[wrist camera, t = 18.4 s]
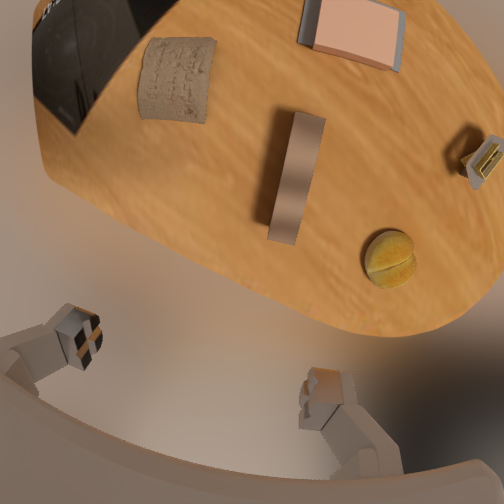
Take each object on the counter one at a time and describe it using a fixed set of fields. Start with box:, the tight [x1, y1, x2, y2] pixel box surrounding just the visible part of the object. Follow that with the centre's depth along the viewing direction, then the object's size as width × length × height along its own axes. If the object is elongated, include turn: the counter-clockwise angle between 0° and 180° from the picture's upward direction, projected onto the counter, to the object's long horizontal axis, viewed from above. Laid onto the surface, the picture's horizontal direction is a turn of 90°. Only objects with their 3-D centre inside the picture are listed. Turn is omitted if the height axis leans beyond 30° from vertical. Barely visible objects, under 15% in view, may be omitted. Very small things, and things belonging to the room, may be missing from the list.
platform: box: [460, 134, 504, 190], centre depth 29 cm, size 12×18×7 cm, turn 141°
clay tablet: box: [137, 37, 217, 124], centre depth 32 cm, size 14×10×3 cm
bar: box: [267, 111, 326, 245], centre depth 35 cm, size 16×4×5 cm, turn 169°
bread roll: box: [364, 231, 417, 289], centre depth 39 cm, size 8×9×4 cm
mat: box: [298, 0, 406, 73], centre depth 27 cm, size 10×14×1 cm
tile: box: [312, 0, 399, 71], centre depth 26 cm, size 3×10×9 cm
